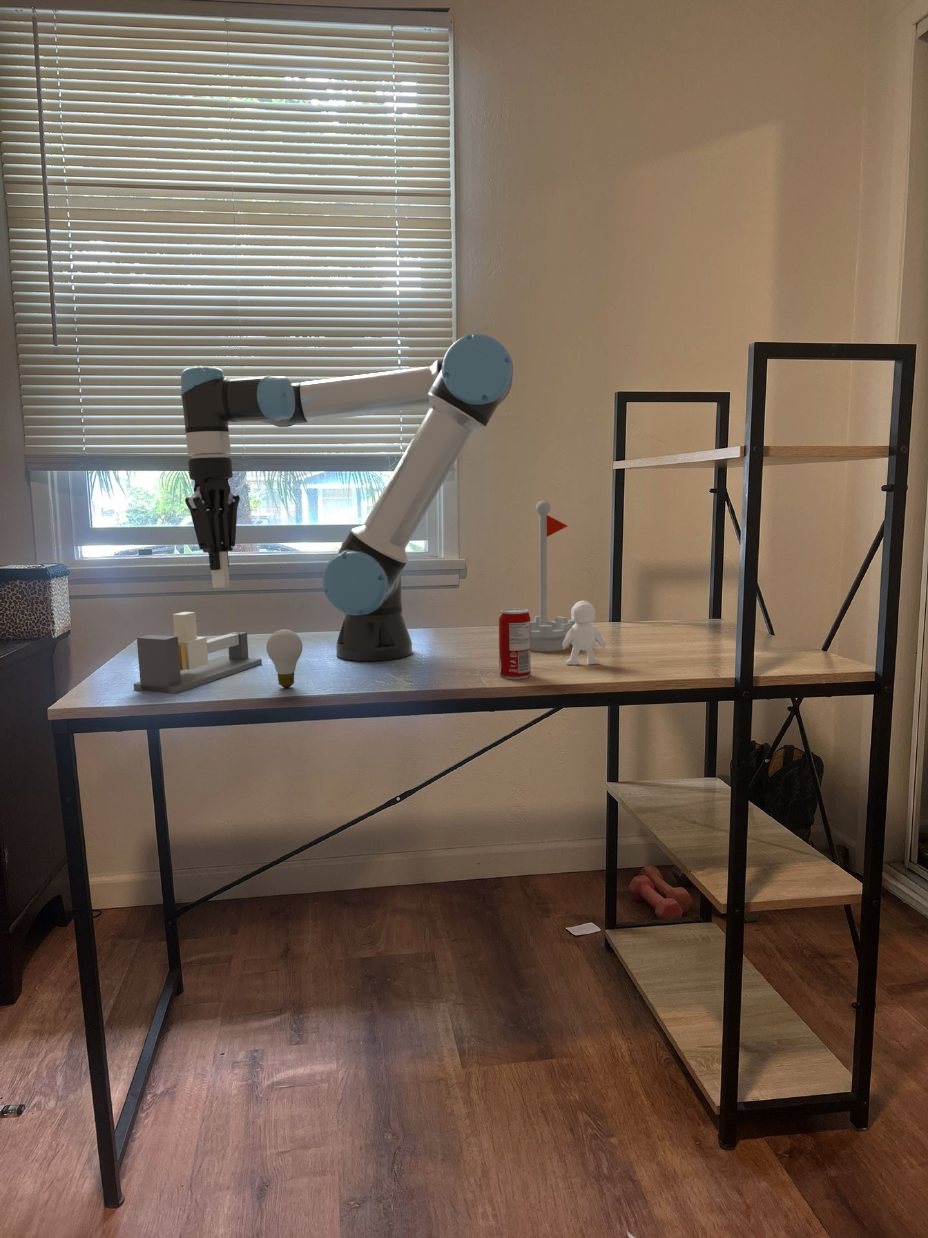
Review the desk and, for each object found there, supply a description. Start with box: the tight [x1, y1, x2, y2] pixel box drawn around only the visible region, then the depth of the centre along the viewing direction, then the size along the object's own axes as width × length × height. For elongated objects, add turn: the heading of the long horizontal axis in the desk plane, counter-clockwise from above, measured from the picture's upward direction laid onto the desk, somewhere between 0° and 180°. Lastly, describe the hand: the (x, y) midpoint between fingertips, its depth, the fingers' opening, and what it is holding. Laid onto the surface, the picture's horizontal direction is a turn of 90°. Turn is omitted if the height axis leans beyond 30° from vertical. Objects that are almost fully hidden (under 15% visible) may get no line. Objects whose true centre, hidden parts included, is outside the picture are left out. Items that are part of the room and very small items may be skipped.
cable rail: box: [133, 631, 263, 694], centre depth 151 cm, size 9×24×9 cm, turn 158°
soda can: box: [498, 607, 531, 680], centre depth 146 cm, size 6×6×12 cm
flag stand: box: [530, 500, 576, 652], centre depth 172 cm, size 13×13×30 cm
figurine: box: [562, 600, 606, 666], centre depth 155 cm, size 8×5×12 cm, turn 93°
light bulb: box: [266, 628, 303, 689], centre depth 141 cm, size 6×6×10 cm
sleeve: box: [172, 611, 209, 670], centre depth 147 cm, size 5×5×9 cm
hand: (221, 587), depth 154 cm, fingers closed
